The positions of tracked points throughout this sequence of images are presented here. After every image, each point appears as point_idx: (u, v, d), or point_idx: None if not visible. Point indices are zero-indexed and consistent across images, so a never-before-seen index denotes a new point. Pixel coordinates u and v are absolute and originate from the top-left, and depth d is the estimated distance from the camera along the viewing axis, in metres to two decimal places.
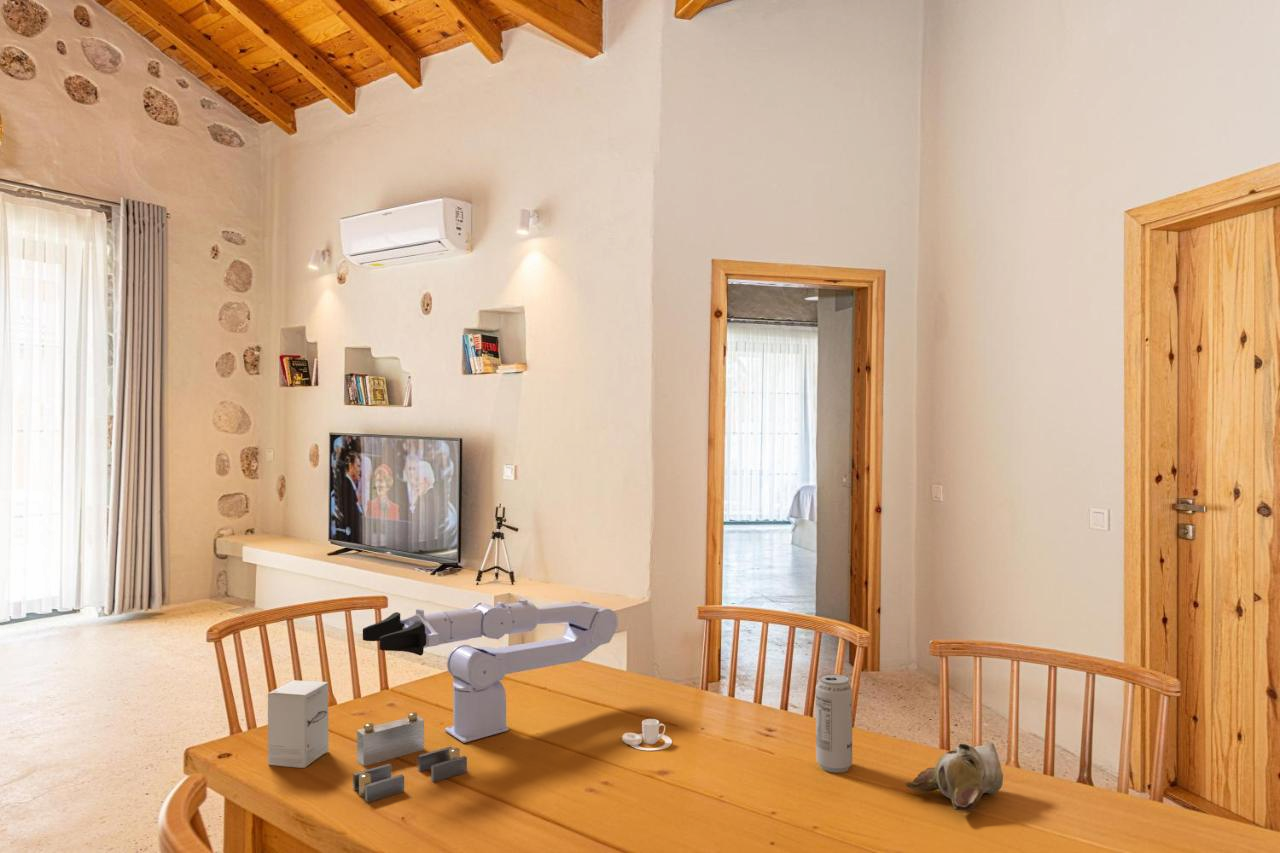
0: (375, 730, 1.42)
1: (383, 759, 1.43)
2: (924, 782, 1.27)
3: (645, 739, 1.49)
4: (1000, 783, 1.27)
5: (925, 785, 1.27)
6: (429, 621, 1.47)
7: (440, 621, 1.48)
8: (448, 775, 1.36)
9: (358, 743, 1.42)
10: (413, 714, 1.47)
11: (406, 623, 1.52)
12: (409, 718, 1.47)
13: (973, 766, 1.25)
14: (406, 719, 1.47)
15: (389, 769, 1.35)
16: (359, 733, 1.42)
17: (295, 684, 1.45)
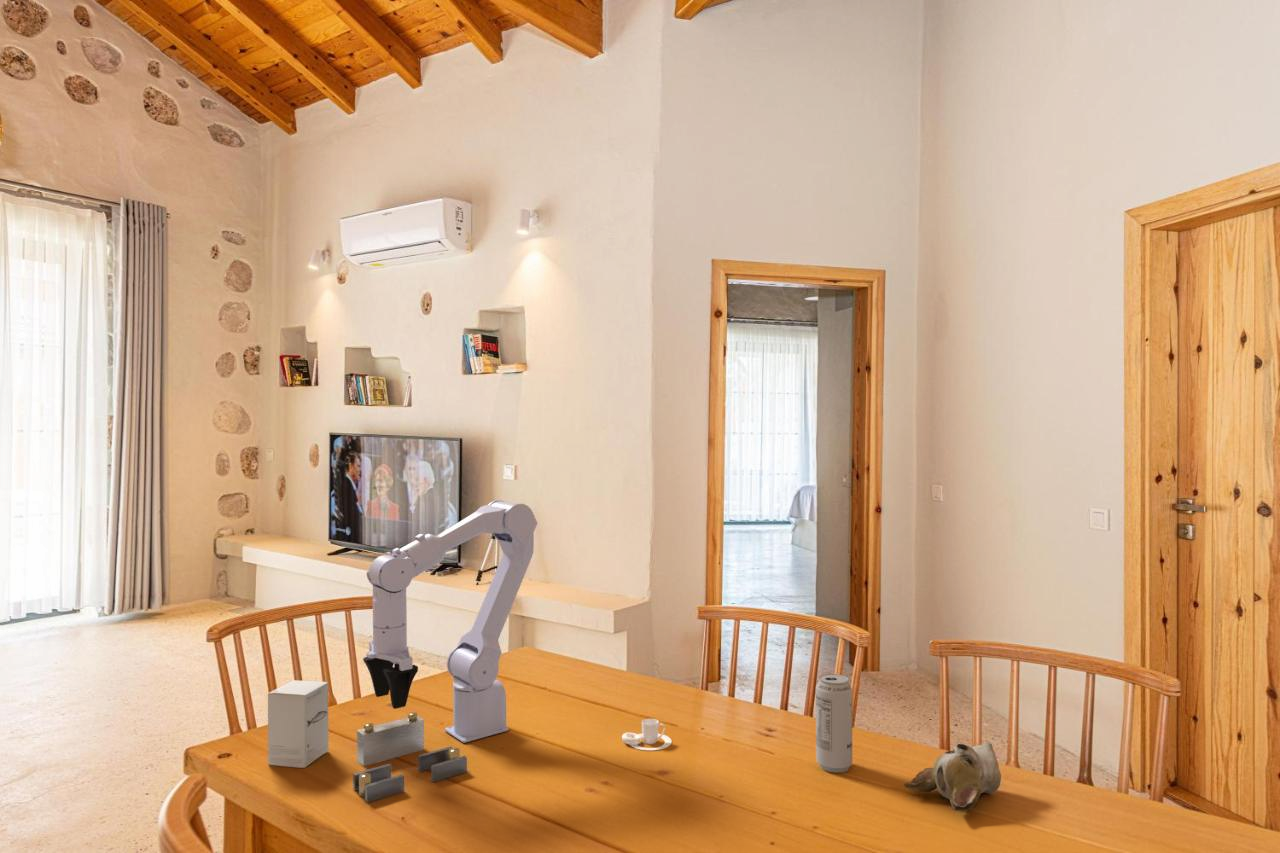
0: (375, 730, 1.42)
1: (383, 759, 1.43)
2: (922, 782, 1.27)
3: (645, 739, 1.49)
4: (998, 783, 1.27)
5: (923, 785, 1.27)
6: (382, 650, 1.42)
7: (384, 638, 1.42)
8: (448, 775, 1.36)
9: (358, 743, 1.42)
10: (413, 714, 1.47)
11: None
12: (409, 718, 1.47)
13: (971, 766, 1.25)
14: (406, 719, 1.47)
15: (389, 769, 1.35)
16: (359, 733, 1.42)
17: (295, 684, 1.45)
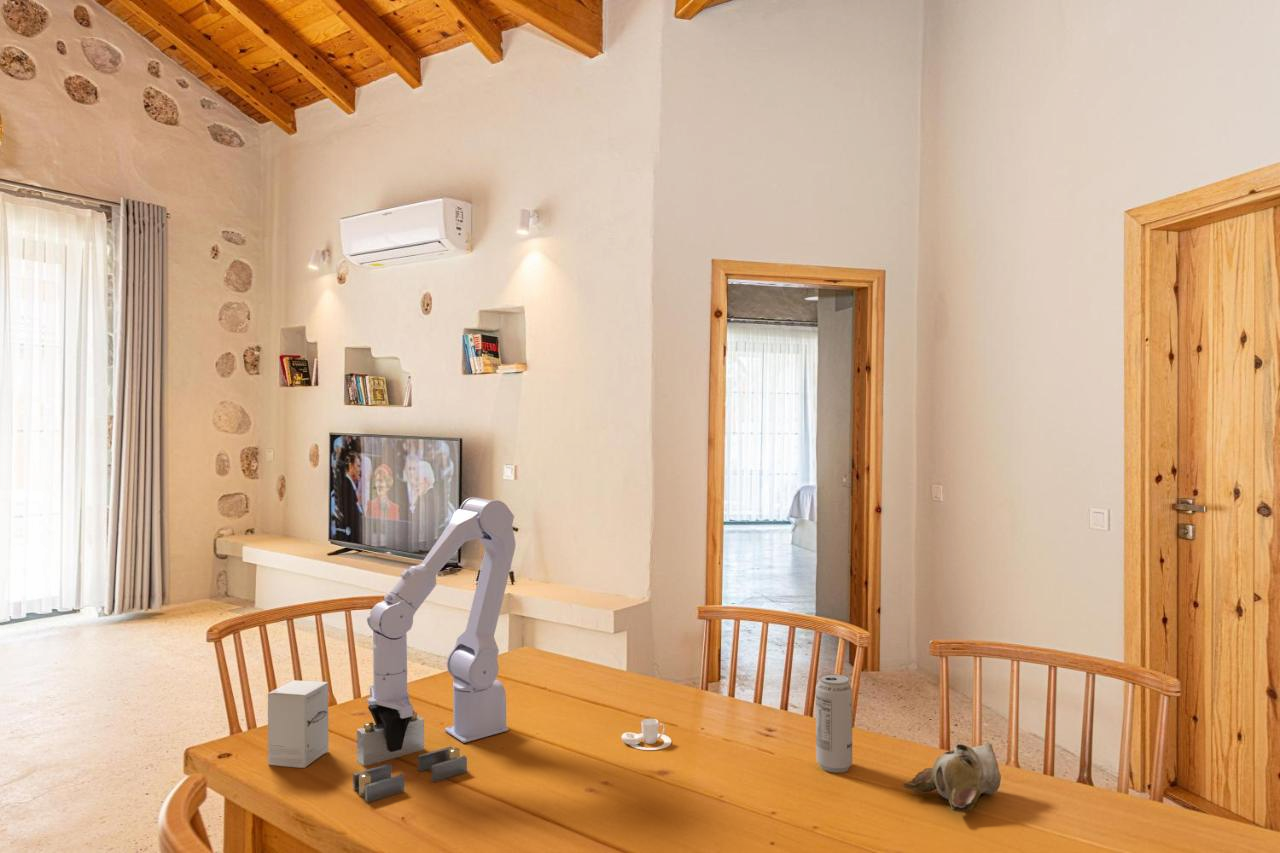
0: (375, 729, 1.42)
1: (383, 758, 1.43)
2: (922, 783, 1.27)
3: (644, 739, 1.49)
4: (998, 783, 1.27)
5: (923, 786, 1.27)
6: (383, 697, 1.42)
7: (385, 685, 1.42)
8: (448, 775, 1.36)
9: (358, 742, 1.42)
10: None
11: None
12: None
13: (971, 767, 1.25)
14: None
15: (389, 769, 1.35)
16: (359, 732, 1.42)
17: (295, 684, 1.45)
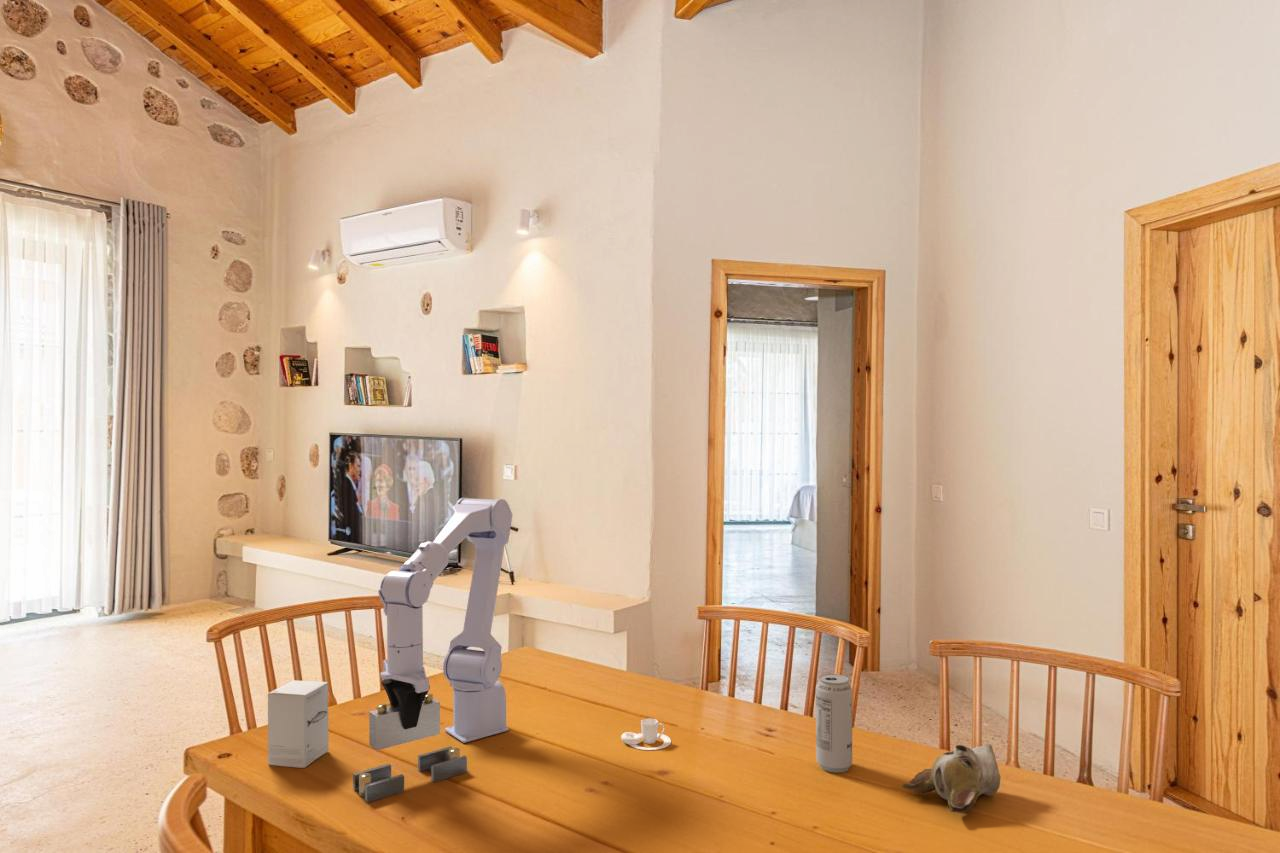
0: (389, 712, 1.34)
1: (397, 742, 1.34)
2: (921, 783, 1.27)
3: (644, 738, 1.49)
4: (997, 784, 1.26)
5: (922, 786, 1.27)
6: (397, 671, 1.34)
7: (399, 658, 1.34)
8: (448, 775, 1.36)
9: (370, 725, 1.34)
10: (428, 696, 1.39)
11: None
12: (424, 700, 1.39)
13: (970, 767, 1.25)
14: None
15: (389, 769, 1.35)
16: (371, 714, 1.34)
17: (295, 684, 1.45)
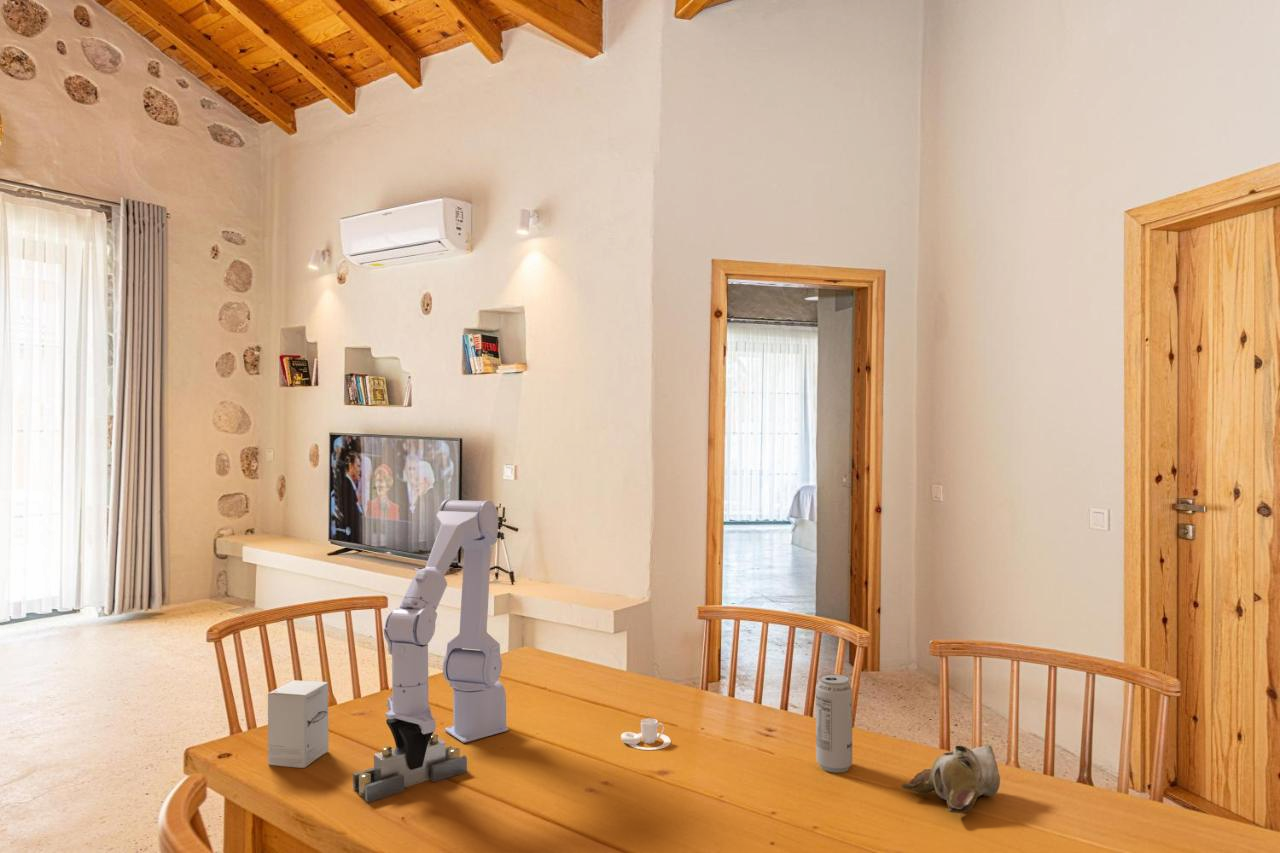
0: (394, 754, 1.32)
1: None
2: (920, 784, 1.27)
3: (644, 738, 1.49)
4: (997, 785, 1.26)
5: (921, 787, 1.27)
6: (403, 711, 1.32)
7: (405, 698, 1.32)
8: (448, 775, 1.36)
9: (375, 768, 1.32)
10: (434, 736, 1.37)
11: None
12: (429, 740, 1.36)
13: (969, 768, 1.24)
14: None
15: None
16: (376, 758, 1.31)
17: (295, 684, 1.45)
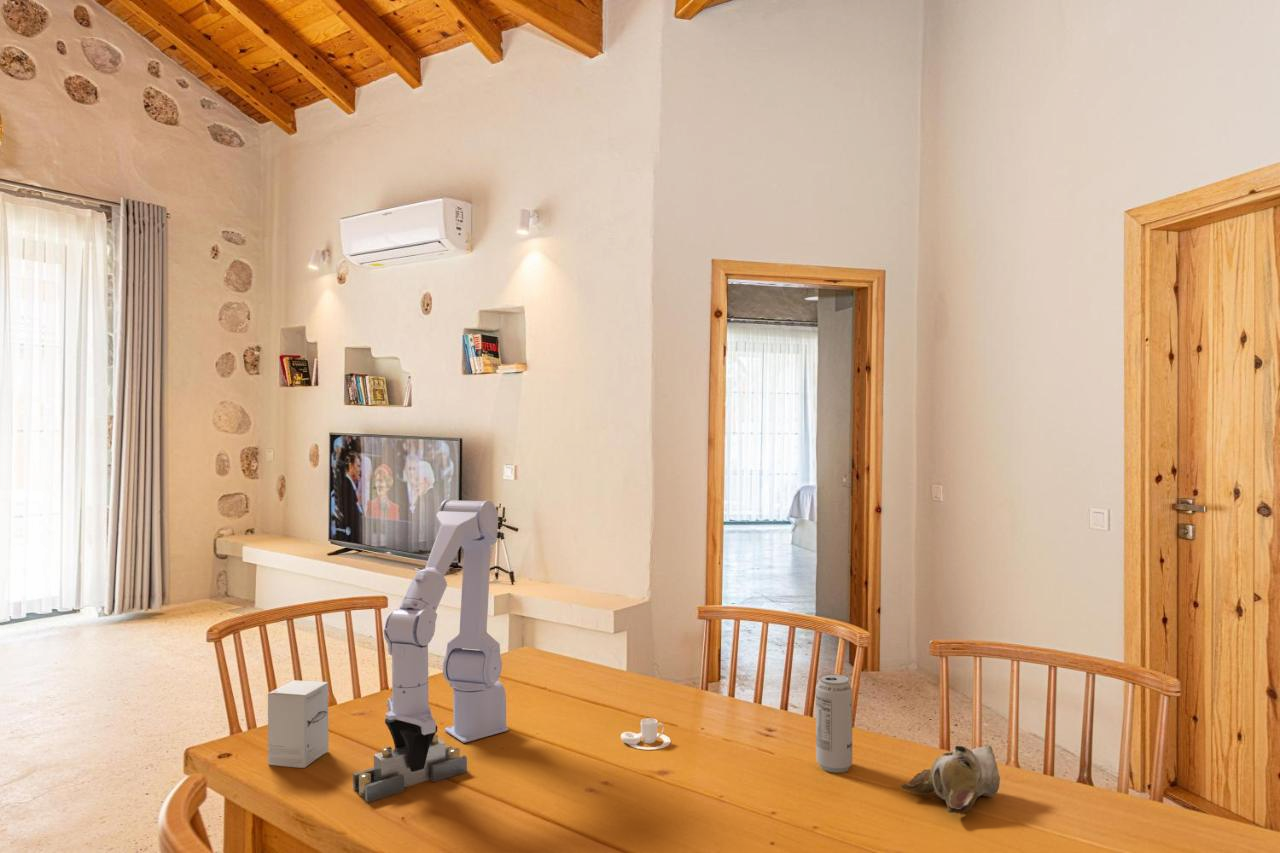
0: (394, 755, 1.32)
1: None
2: (920, 784, 1.27)
3: (644, 738, 1.50)
4: (997, 786, 1.26)
5: (921, 787, 1.27)
6: (403, 711, 1.32)
7: (405, 698, 1.32)
8: (448, 775, 1.36)
9: (375, 769, 1.32)
10: (434, 737, 1.37)
11: None
12: None
13: (969, 768, 1.24)
14: None
15: None
16: (376, 758, 1.31)
17: (295, 684, 1.45)
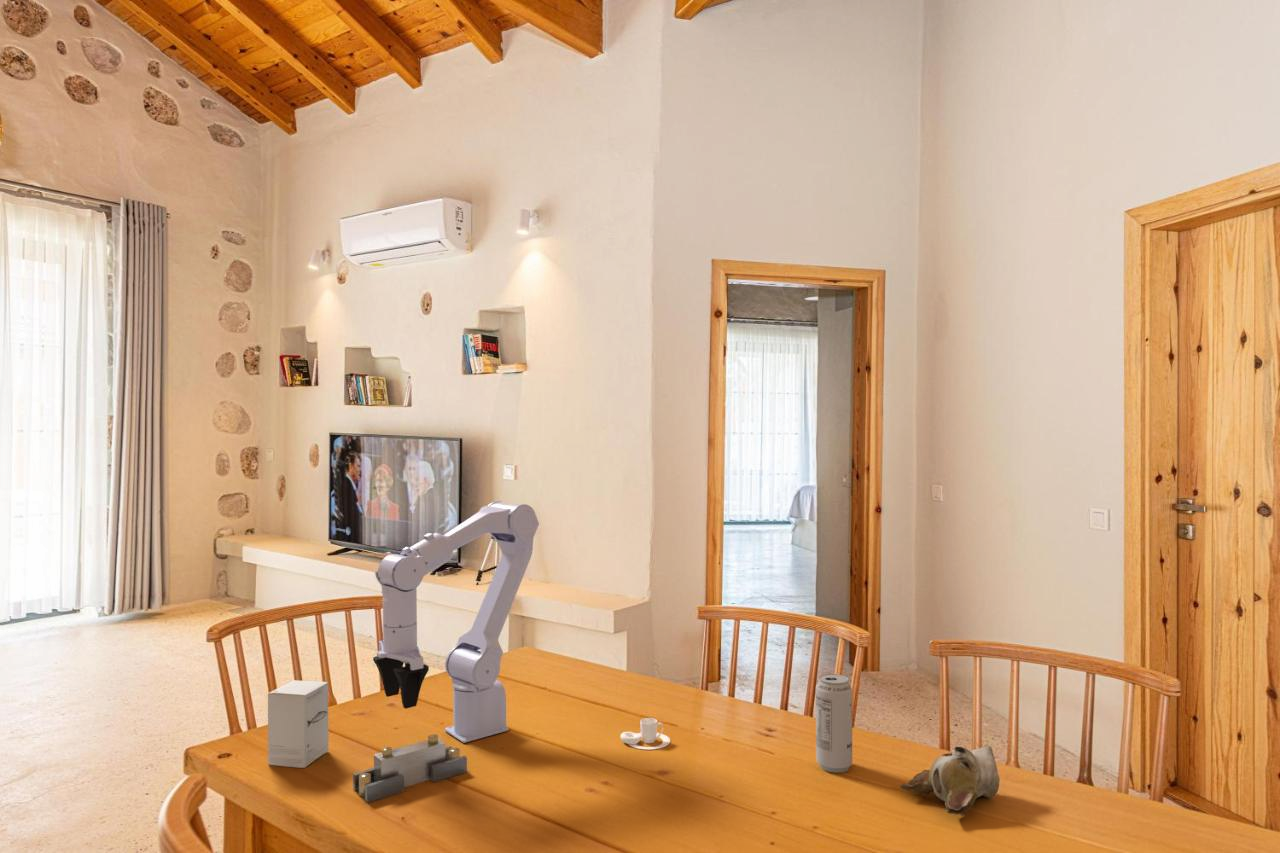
0: (394, 755, 1.32)
1: None
2: (919, 784, 1.26)
3: (643, 738, 1.50)
4: (996, 787, 1.26)
5: (920, 787, 1.26)
6: (393, 650, 1.41)
7: (395, 638, 1.41)
8: (448, 775, 1.36)
9: (375, 769, 1.32)
10: (434, 737, 1.37)
11: None
12: (429, 741, 1.36)
13: (968, 769, 1.24)
14: (426, 742, 1.37)
15: None
16: (376, 758, 1.31)
17: (295, 684, 1.45)
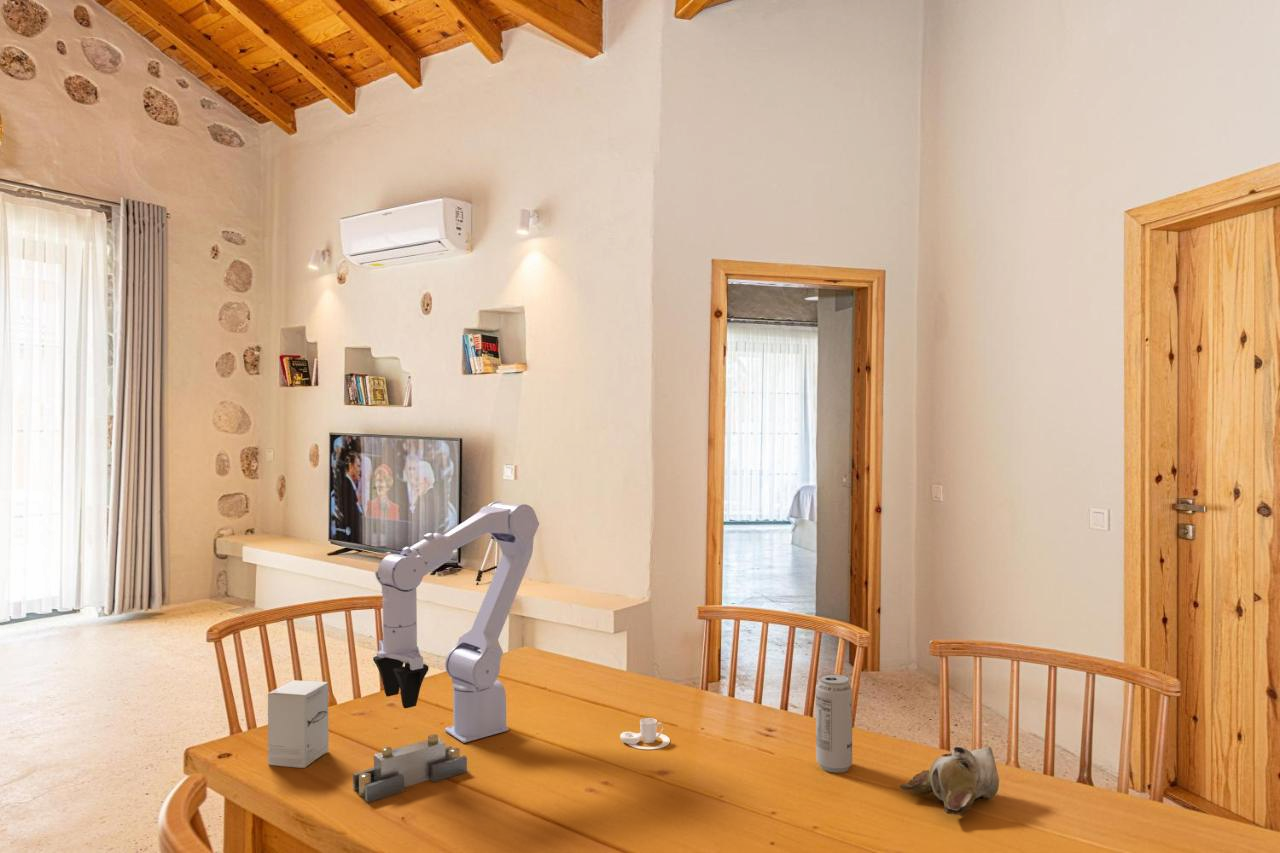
0: (394, 755, 1.32)
1: None
2: (918, 784, 1.26)
3: (643, 738, 1.50)
4: (996, 787, 1.25)
5: (919, 788, 1.26)
6: (393, 650, 1.41)
7: (395, 637, 1.41)
8: (448, 775, 1.36)
9: (375, 769, 1.32)
10: (434, 737, 1.37)
11: None
12: (429, 741, 1.36)
13: (967, 770, 1.24)
14: (426, 742, 1.37)
15: None
16: (376, 758, 1.31)
17: (295, 684, 1.45)
